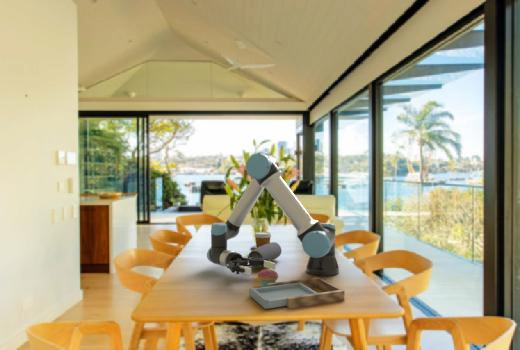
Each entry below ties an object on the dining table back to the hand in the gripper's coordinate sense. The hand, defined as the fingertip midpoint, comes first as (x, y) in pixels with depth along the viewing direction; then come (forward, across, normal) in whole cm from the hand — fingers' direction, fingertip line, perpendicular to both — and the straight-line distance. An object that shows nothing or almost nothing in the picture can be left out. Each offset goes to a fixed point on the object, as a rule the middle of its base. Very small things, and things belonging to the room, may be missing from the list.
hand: (263, 269), depth 161 cm
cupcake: (+2, 0, -7) cm, 7 cm away
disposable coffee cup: (-42, -39, -7) cm, 58 cm away
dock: (+20, -3, -7) cm, 22 cm away
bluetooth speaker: (-24, -24, -7) cm, 35 cm away
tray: (+17, +5, -6) cm, 19 cm away
